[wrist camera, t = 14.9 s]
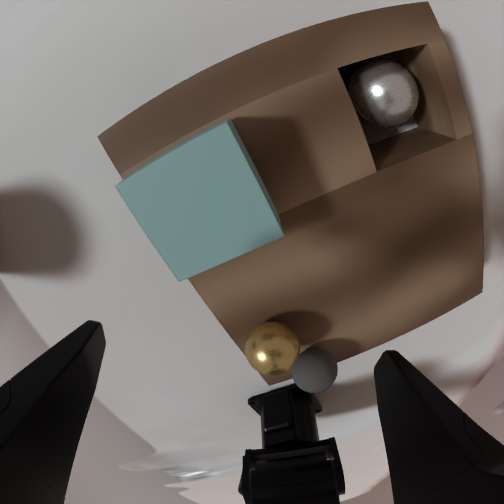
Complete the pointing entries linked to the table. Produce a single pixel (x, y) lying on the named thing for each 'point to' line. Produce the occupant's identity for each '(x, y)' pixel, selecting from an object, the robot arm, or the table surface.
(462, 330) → the table surface
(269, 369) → the brass ball
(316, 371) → the black rubber ball
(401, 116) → the steel ball
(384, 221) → the board
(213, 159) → the teal block
